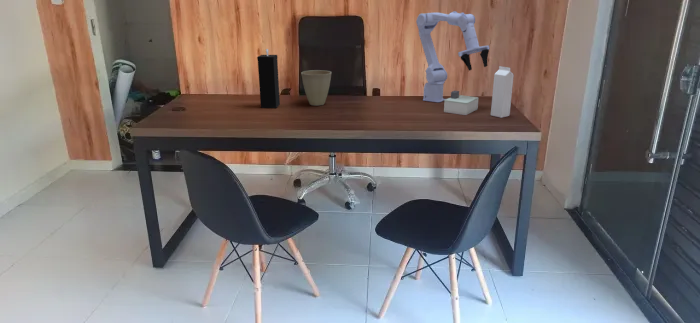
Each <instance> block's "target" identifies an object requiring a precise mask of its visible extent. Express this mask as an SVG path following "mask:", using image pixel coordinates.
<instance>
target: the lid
mask: <svg viewBox="0 0 700 323" xmlns="http://www.w3.org/2000/svg"><path fill="white" fill-rule="evenodd" d="M445 99H446V100H444V102H445V101H446V102H454V103H461V104H468V103H471V102H473V101H475V100H477V99H478V100H479V97H477V96H472V95H471V96H469V95H461V94H460V91H459V90H453V91H451V92H450V97H448V98H445Z"/></svg>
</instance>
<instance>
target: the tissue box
mask: <svg viewBox="0 0 700 323" xmlns="http://www.w3.org/2000/svg"><path fill="white" fill-rule="evenodd" d="M265 52H266V54H260V55H258V56H257V57H256V59H257V68H258V69H257V70H258V83H259V97H260V98H259V99H260V102H259V103H260V108H261V109H277V108H278V107H279V106H280V104H281V103H280V102H281V100H280V84H279V83H280V82H279V65H278V64H279V63H278V58H279V57H278V54H269V48H266V49H265Z"/></svg>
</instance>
